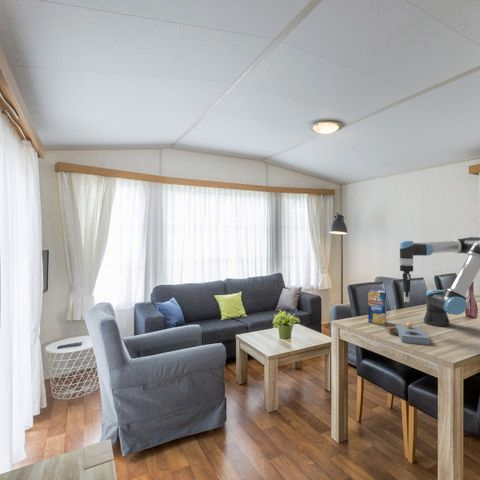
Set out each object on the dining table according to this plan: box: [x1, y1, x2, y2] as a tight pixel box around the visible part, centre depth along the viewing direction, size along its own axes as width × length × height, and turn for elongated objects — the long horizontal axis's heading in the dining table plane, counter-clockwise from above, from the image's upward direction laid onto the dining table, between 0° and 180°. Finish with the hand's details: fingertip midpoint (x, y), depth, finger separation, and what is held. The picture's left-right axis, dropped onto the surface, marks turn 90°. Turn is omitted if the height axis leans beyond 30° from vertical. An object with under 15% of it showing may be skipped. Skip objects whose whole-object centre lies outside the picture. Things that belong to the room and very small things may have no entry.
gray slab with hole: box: [394, 324, 431, 345], centre depth 181 cm, size 22×14×4 cm, turn 161°
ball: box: [405, 322, 414, 328], centre depth 186 cm, size 4×4×4 cm
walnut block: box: [386, 325, 398, 336], centre depth 188 cm, size 4×4×4 cm
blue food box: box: [367, 289, 387, 325], centre depth 212 cm, size 7×11×22 cm, turn 61°
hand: (406, 301), depth 194 cm, fingers closed
